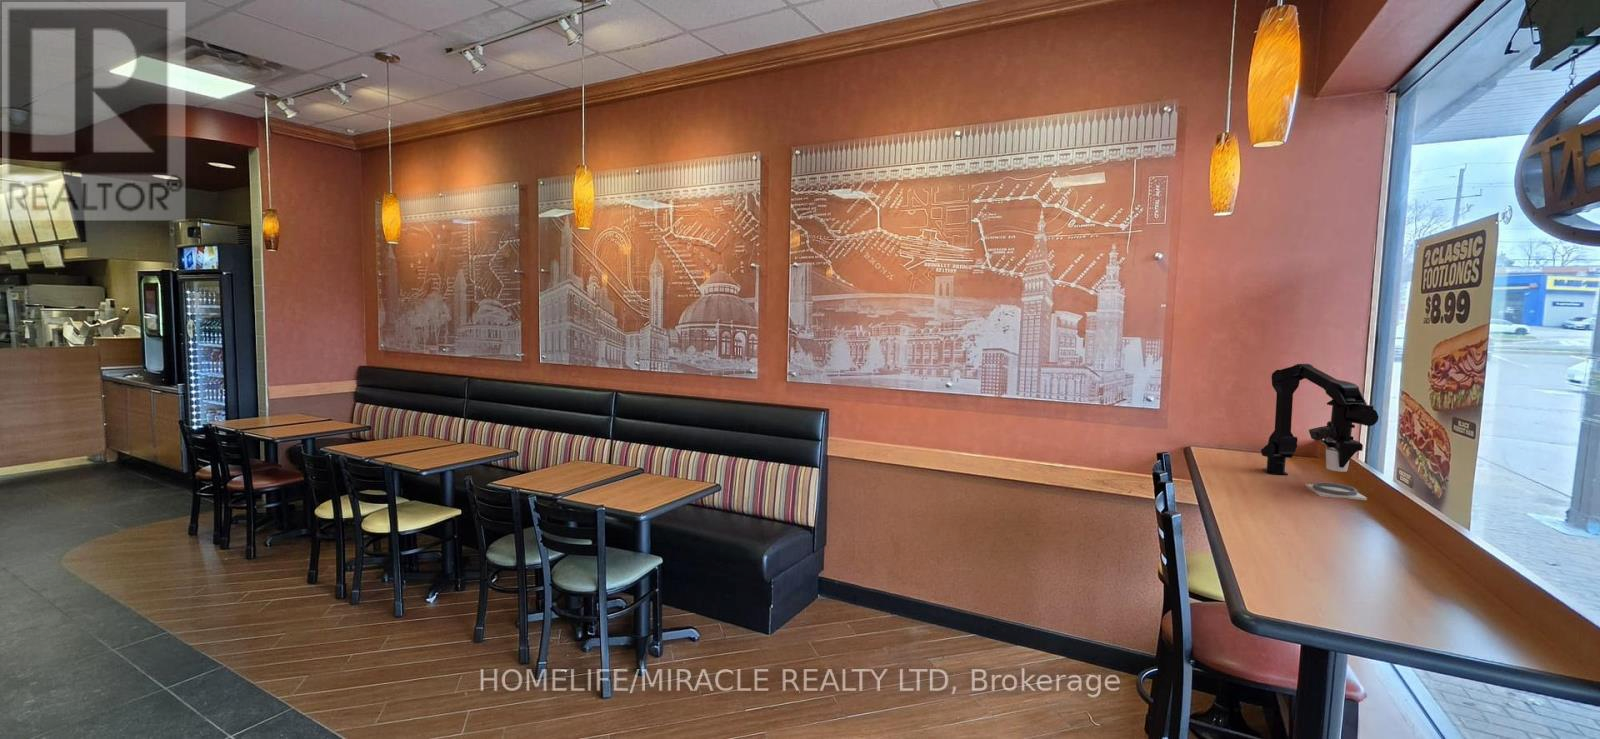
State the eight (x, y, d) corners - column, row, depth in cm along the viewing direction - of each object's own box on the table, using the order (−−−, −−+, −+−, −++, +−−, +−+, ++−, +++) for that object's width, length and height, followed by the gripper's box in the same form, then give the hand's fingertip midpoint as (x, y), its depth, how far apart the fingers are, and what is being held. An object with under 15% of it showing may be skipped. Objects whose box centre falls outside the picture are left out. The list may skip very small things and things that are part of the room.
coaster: (1304, 485, 234) (1305, 480, 234) (1349, 489, 230) (1349, 483, 230) (1319, 496, 222) (1320, 490, 222) (1366, 500, 218) (1367, 494, 218)
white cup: (1354, 472, 222) (1357, 451, 221) (1334, 471, 222) (1336, 451, 221) (1338, 466, 229) (1340, 447, 228) (1318, 466, 229) (1320, 446, 228)
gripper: (1302, 413, 235) (1298, 456, 237) (1324, 423, 217) (1319, 469, 219) (1340, 416, 231) (1336, 459, 233) (1365, 426, 214) (1360, 472, 215)
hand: (1337, 465), depth 225 cm, fingers closed on white cup, 6 cm apart
